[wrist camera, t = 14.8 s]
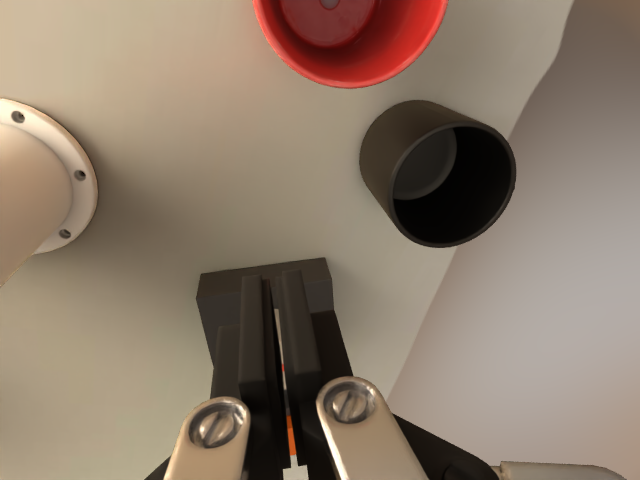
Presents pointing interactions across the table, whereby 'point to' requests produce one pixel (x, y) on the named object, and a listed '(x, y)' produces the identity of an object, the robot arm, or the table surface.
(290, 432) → the power button
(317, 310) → the panel
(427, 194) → the mug
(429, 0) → the flower pot
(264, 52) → the table surface
